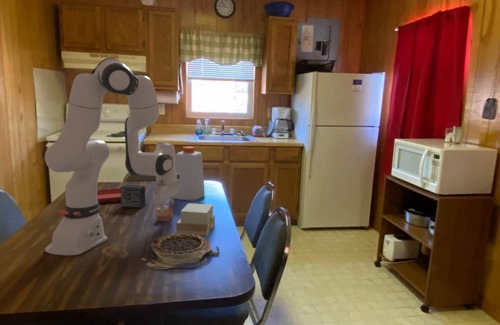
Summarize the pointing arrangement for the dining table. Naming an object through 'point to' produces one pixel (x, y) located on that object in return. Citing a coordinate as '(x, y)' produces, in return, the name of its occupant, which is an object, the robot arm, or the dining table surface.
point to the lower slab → (195, 227)
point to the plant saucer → (109, 195)
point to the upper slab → (196, 213)
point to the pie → (180, 250)
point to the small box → (132, 196)
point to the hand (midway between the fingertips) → (167, 208)
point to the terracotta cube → (164, 214)
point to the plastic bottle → (190, 174)
